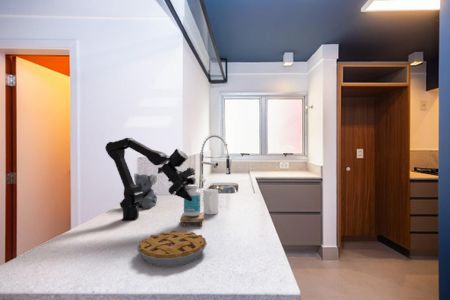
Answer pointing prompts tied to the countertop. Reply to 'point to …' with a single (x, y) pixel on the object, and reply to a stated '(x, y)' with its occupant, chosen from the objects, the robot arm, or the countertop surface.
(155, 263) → the pie
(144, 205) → the koala plush
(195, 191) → the pill bottle
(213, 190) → the mug
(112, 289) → the countertop surface
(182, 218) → the square wooden stand
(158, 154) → the robot arm
